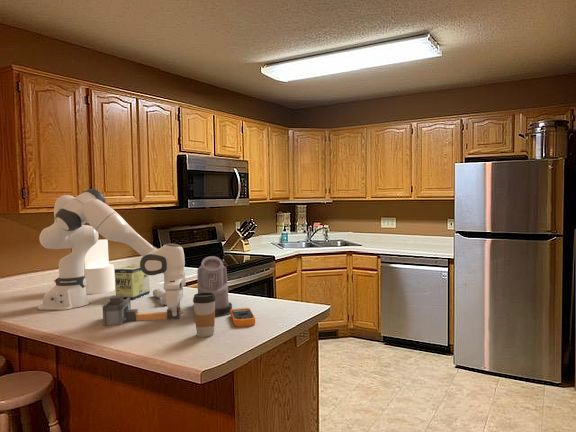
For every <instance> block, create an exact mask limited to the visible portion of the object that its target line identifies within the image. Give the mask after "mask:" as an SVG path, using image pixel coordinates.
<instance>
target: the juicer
mask: <svg viewBox="0 0 576 432" xmlns="http://www.w3.org/2000/svg"><path fill="white" fill-rule="evenodd" d="M200 263H201V264H200V266H199V267H198V268H197V271H196V272H197V274H196V275H197V276H196V277H197V279H196V280H197V294H198V293H206V292H208V293H214V296H215V318H222V317H226V316H229V315H230V310H231V309H233V304H232V302H229V284H228V273H227V272H228V271H227V266H225V265H224V262H223V260H222V259H221V258H220V257H218V256H214V255H211V256H207V257H204V258H203V259H202V260H201V262H200ZM230 316H231V315H230Z"/></svg>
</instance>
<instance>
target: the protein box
mask: <svg viewBox="0 0 576 432" xmlns="http://www.w3.org/2000/svg"><path fill="white" fill-rule="evenodd" d="M114 277H115V290H114V291H115V296H120V295H123V299H124V300H126V299H127V298H128V297H130V301H134V300H137V299H139V298H142V297H145V296H147V295H149V293H151V292H150V275H146V274H144V273H143V272H142V270H141V268H140V264H130V265H126V266H123V267H119V268H114ZM144 295H145V296H144ZM141 296H142V297H141ZM136 298H137V299H136Z"/></svg>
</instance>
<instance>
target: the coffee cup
mask: <svg viewBox="0 0 576 432" xmlns="http://www.w3.org/2000/svg"><path fill="white" fill-rule="evenodd" d="M192 303H193V311H194V313H193V314H194V321H195V328H196V335H197V336H198V337H201V338H207V337H211V336H213V335H214V334H215V325H216V324H215V323H216V321H215V320H216V317H215V296H214V293H208V292H206V293H198V292H197V293H196V294H194V295H193V298H192Z"/></svg>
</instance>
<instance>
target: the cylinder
mask: <svg viewBox="0 0 576 432" xmlns="http://www.w3.org/2000/svg"><path fill="white" fill-rule="evenodd" d="M109 257H110V256H109V240H108V239H106V238H105V239H98V241H97V243H96V244H95V245H93V246H92V247H91V248H90V249H89V251H88V252H87V254H86V256H85V260H84V275H85V278H86V286H85V288H86V293H87V295H98V294H105V293H109V292H113V291H116V290H115V271H114V270H115V265H114V264H113V263H109V262H110V260H109Z"/></svg>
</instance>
